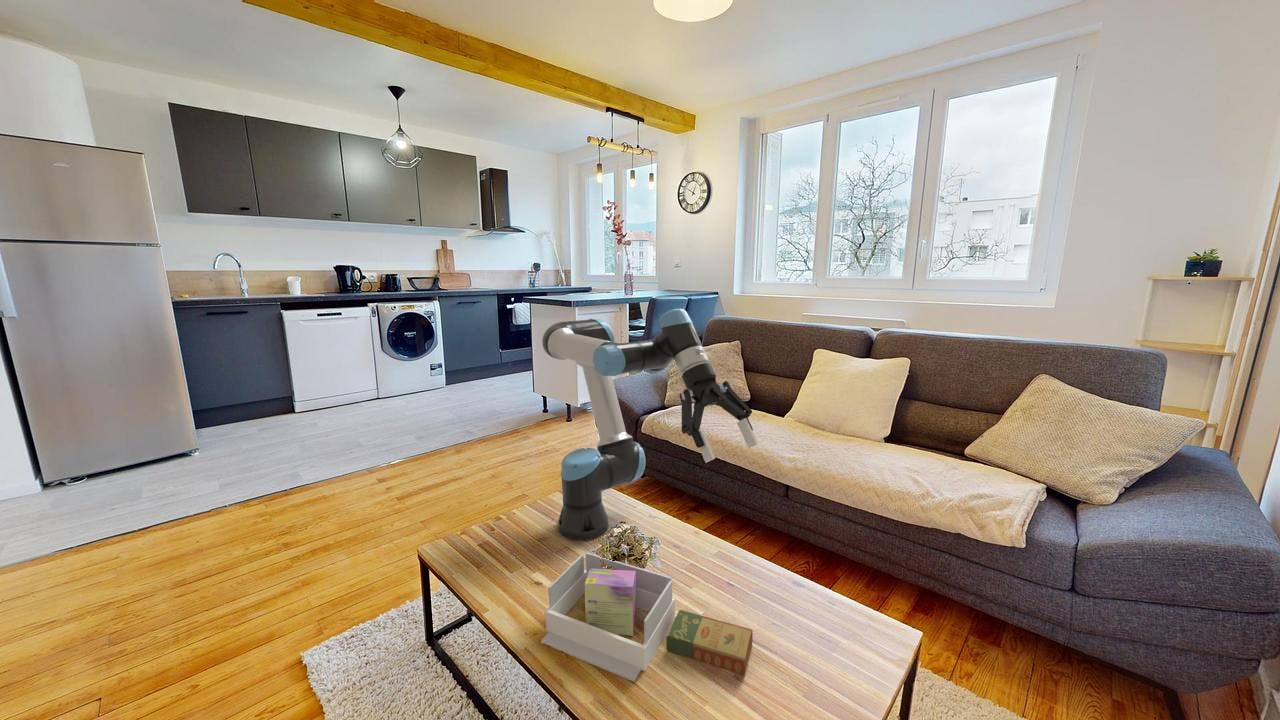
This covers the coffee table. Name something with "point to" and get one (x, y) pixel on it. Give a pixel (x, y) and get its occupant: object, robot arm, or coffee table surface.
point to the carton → (710, 641)
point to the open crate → (599, 643)
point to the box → (611, 600)
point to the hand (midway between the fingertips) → (732, 453)
